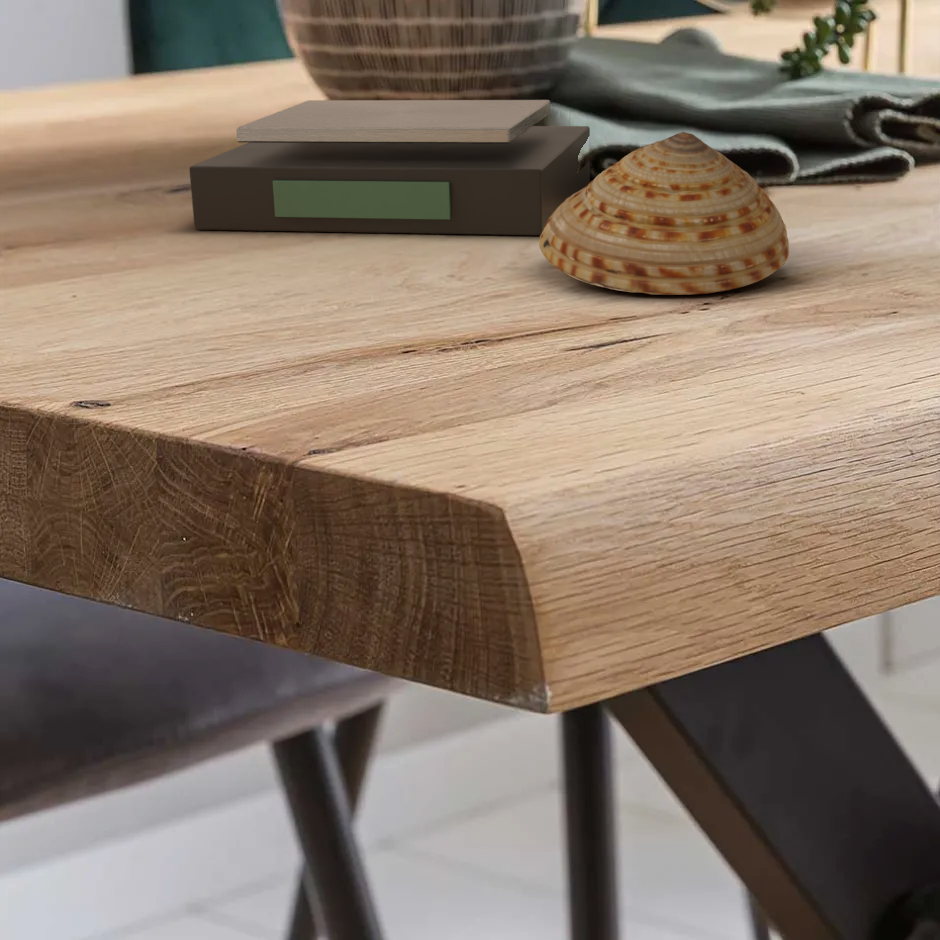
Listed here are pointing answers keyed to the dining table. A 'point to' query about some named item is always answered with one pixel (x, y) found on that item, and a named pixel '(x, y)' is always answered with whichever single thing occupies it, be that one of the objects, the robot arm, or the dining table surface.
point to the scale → (392, 185)
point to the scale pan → (397, 121)
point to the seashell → (668, 224)
